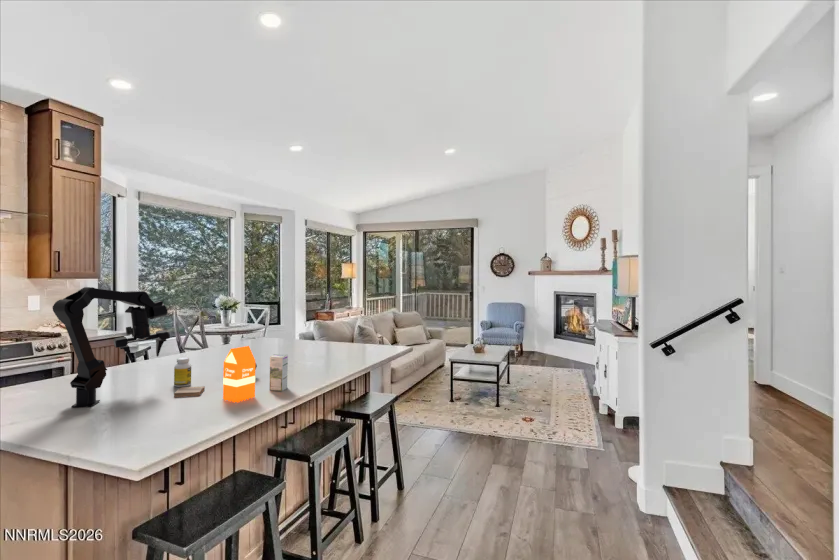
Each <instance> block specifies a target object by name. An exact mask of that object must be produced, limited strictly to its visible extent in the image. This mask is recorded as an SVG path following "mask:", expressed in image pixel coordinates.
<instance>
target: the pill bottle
mask: <svg viewBox="0 0 839 560" xmlns="http://www.w3.org/2000/svg"><path fill="white" fill-rule="evenodd" d="M189 362H190V358H189V357H178V358H176V363H177V364H175V365H174V368H173V369H174V370H173V385H174V387H176V388H177V387H178V388H180V387H190V385H191V384H192V365H191V363H189Z"/></svg>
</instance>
